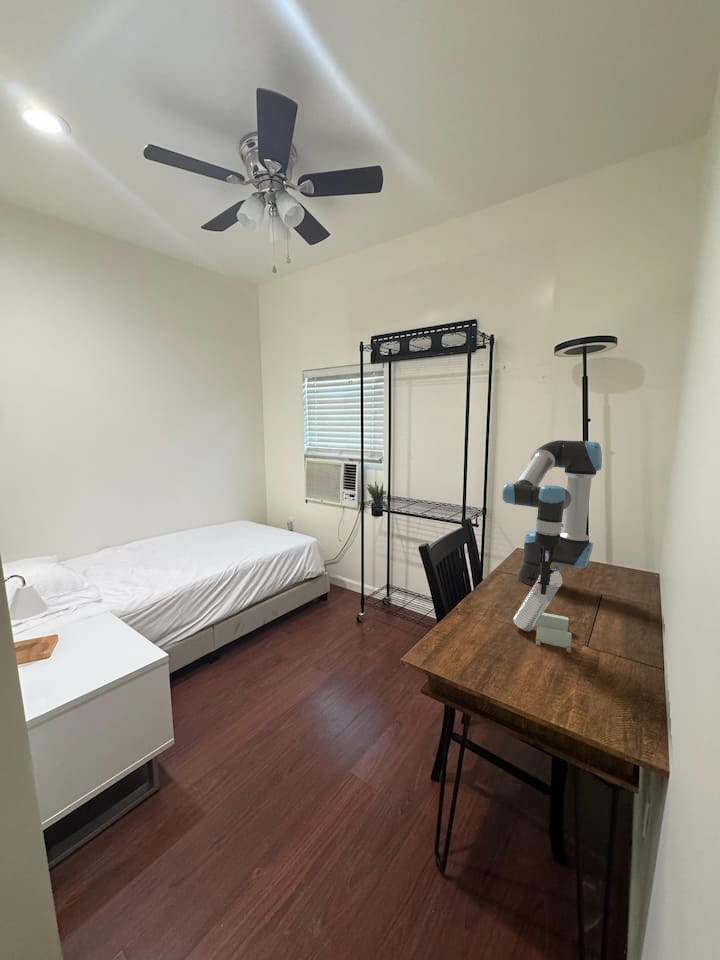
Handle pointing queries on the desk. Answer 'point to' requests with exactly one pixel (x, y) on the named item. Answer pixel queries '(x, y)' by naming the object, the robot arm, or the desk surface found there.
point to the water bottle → (531, 606)
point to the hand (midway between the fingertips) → (541, 597)
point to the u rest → (553, 631)
